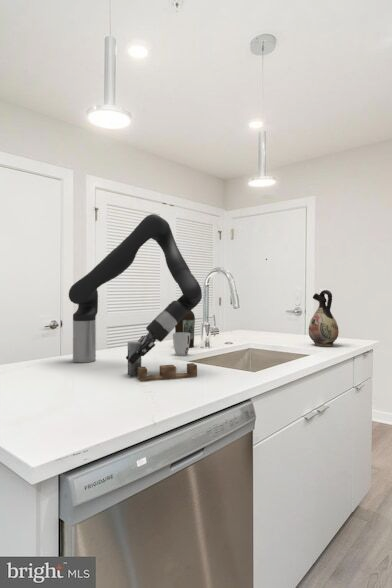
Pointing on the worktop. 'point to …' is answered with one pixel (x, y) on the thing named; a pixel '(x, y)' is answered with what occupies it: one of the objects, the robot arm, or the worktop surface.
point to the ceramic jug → (323, 322)
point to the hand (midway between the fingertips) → (129, 361)
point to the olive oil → (187, 326)
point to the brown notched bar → (167, 373)
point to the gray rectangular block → (134, 367)
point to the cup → (181, 343)
